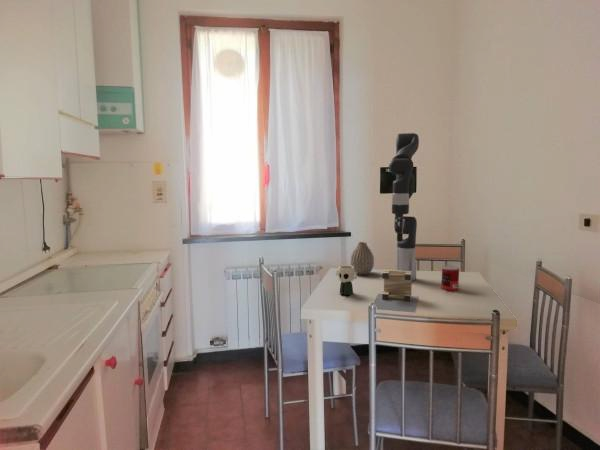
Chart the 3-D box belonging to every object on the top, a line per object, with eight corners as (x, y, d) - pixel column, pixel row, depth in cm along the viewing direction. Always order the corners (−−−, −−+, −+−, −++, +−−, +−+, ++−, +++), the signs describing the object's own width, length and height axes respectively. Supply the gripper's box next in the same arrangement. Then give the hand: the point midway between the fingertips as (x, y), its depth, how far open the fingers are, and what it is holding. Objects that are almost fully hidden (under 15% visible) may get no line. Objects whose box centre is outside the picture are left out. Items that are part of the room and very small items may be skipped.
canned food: (459, 288, 216) (459, 265, 214) (457, 292, 208) (458, 269, 207) (442, 286, 219) (443, 264, 217) (440, 290, 212) (441, 268, 210)
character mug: (332, 294, 208) (332, 266, 206) (340, 290, 213) (340, 264, 212) (352, 298, 201) (352, 269, 199) (360, 294, 206) (360, 267, 205)
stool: (410, 301, 193) (410, 274, 191) (382, 299, 196) (382, 273, 195) (411, 297, 199) (411, 271, 198) (384, 295, 203) (384, 269, 201)
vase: (348, 271, 253) (348, 240, 251) (371, 270, 254) (371, 240, 252) (352, 276, 240) (352, 244, 238) (376, 276, 241) (376, 244, 239)
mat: (378, 294, 206) (378, 293, 206) (418, 297, 200) (418, 296, 200) (370, 309, 184) (370, 308, 184) (415, 313, 179) (415, 312, 179)
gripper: (393, 202, 208) (393, 238, 210) (390, 204, 195) (389, 243, 197) (410, 202, 206) (409, 239, 208) (407, 204, 193) (406, 244, 195)
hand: (399, 241), depth 203 cm, fingers closed
